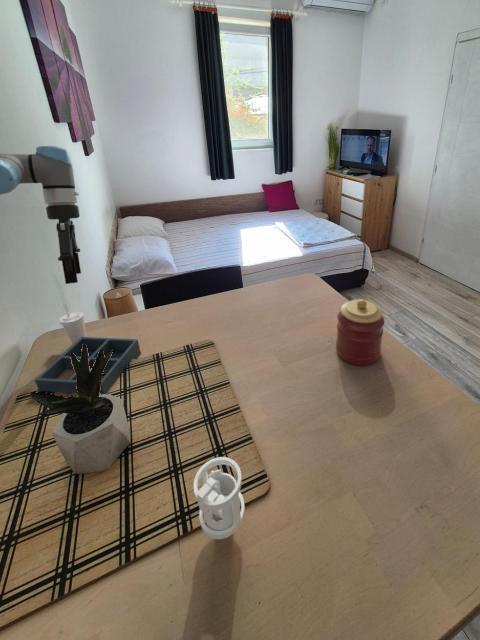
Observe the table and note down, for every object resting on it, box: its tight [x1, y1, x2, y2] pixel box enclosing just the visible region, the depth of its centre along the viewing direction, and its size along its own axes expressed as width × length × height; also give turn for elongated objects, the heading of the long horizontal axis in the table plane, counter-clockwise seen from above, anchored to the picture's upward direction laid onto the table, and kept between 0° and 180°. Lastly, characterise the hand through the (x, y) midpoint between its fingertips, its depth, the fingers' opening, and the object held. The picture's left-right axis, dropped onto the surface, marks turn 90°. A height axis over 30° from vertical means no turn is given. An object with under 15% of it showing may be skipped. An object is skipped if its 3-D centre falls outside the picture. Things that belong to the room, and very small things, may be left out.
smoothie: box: [58, 304, 87, 345], centre depth 99 cm, size 6×6×14 cm
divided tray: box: [34, 336, 142, 395], centre depth 88 cm, size 17×17×5 cm
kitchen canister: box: [335, 298, 385, 367], centre depth 93 cm, size 13×13×18 cm
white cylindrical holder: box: [193, 456, 246, 540], centre depth 51 cm, size 7×7×15 cm
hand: (73, 278), depth 95 cm, fingers open, 13 cm apart
